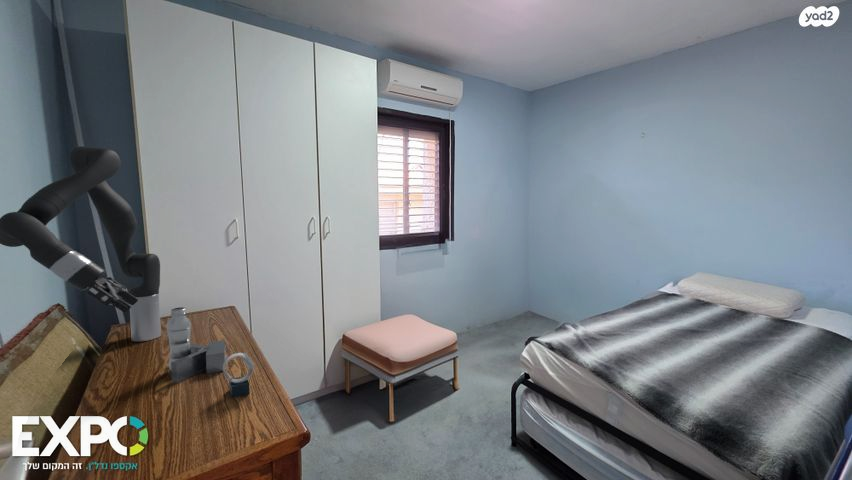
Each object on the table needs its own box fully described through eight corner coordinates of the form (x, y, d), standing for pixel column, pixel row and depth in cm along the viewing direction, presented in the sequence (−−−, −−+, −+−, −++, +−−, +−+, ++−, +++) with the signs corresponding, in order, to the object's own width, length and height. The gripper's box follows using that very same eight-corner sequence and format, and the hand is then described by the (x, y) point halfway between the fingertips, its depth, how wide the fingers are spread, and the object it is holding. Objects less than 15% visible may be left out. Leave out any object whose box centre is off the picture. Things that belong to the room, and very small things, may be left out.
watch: (257, 391, 102) (256, 354, 102) (224, 400, 98) (223, 360, 97) (253, 383, 107) (252, 347, 106) (222, 391, 102) (221, 353, 101)
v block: (179, 360, 122) (179, 343, 122) (226, 353, 128) (225, 336, 128) (171, 384, 106) (170, 364, 105) (224, 374, 112) (224, 356, 112)
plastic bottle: (181, 376, 111) (178, 312, 109) (163, 373, 112) (159, 310, 110) (198, 367, 117) (196, 306, 115) (181, 365, 119) (178, 305, 117)
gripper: (80, 264, 96) (137, 302, 102) (98, 257, 108) (148, 291, 115) (55, 285, 94) (114, 323, 100) (76, 276, 106) (127, 309, 113)
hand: (132, 306), depth 107 cm, fingers open, 8 cm apart
